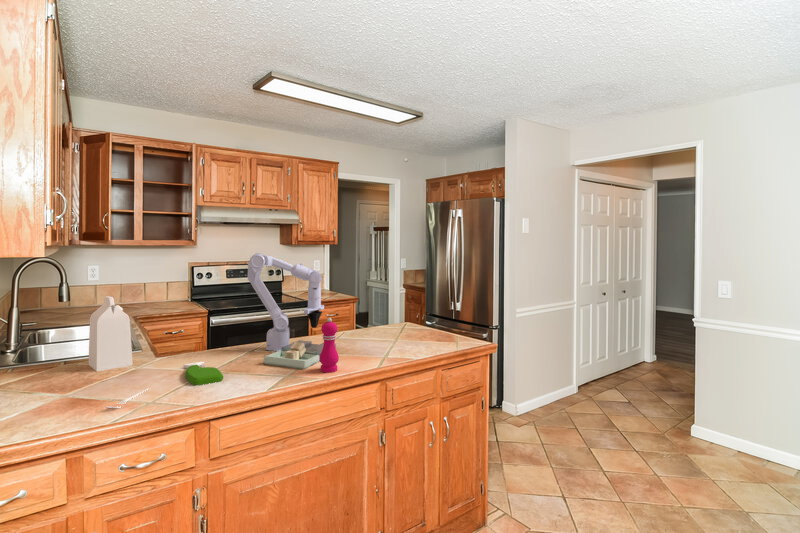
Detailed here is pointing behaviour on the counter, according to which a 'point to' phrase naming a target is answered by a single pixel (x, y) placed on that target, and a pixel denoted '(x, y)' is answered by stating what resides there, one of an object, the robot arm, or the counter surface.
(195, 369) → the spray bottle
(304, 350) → the birch block rear
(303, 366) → the tray
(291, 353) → the birch block front
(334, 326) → the pepper mill
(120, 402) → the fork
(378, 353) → the counter surface
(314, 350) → the slotted plate
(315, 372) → the counter surface
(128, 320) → the milk
